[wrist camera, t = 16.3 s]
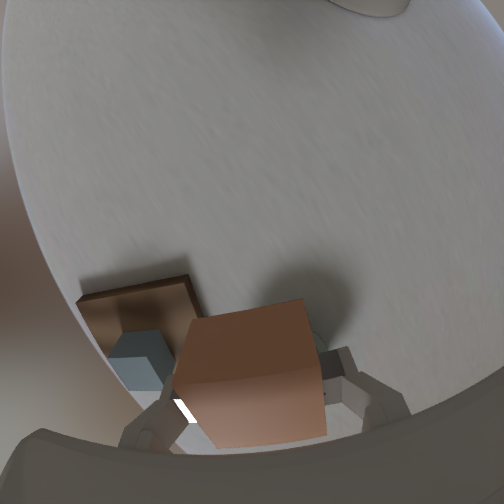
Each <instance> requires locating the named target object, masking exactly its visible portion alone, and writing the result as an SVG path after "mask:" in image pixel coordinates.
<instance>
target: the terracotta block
mask: <svg viewBox="0 0 504 504" xmlns="http://www.w3.org/2000/svg"><path fill="white" fill-rule="evenodd" d="M171 386H172V387H173V389H174V390H175V392H176V393H177V395H178V396H179V398H180V399H181V401H182V402H183V403H184V405H185V406H186V408H187V409H188V411H189V412H190V413H191V415H192V416H193V418H194V419H195V420H196V422H197V423H198V424H199V426H200V427H201V428H202V430H203V431H204V432H205V434H206V435H207V436H208V437H209V439H210V440H211V441H212V443H213V444H214V445H215V446H216V447H217V449H221V448H241V447H254V446H264V445H273V444H281V443H288V442H294V441H300V440H306V439H311V438H316V437H321V436H325V435H327V429H326V416H325V404H324V393H323V383H322V374H321V365H320V361H319V357H318V353H317V349H316V346H315V342H314V338H313V334H312V331H311V327H310V323H309V320H308V316H307V313H306V309H305V306H304V302H303V299H298V300H294V301H289V302H284V303H279V304H274V305H270V306H264V307H259V308H254V309H249V310H244V311H238V312H233V313H227V314H221V315H215V316H209V317H203V318H197V319H192V321H191V324H190V327H189V330H188V333H187V336H186V339H185V342H184V345H183V349H182V352H181V355H180V358H179V361H178V365H177V368H176V371H175V374H174V378H173V381H172V384H171Z"/></svg>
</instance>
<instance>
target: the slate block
mask: <svg viewBox="0 0 504 504" xmlns="http://www.w3.org/2000/svg"><path fill="white" fill-rule="evenodd" d="M107 359H108V361H109V362H110V364H111V365H112V367H113V369H114V370H115V372H116V373H117V375H118V376H119V377H120V379H121V380H122V382H123V383H124V385H125V386H126V388H127V389H128V390H129V391H162V389H163V386H164V383H165V380H166V377H167V376H168V375H169V374H172V373H173V370H174V367H175V364H176V362H175V360H174V358H173V356H172V354H171V352H170V350H169V348H168V346H167V344H166V342H165V340H164V338H163V336H162V334H161V332H160V330H159V329H155V330H146V331H137V332H127V333H122V334H121V336H120V338H119V339H118V341H117V342H116V344H115V346H114V347H113V349H112V351H111V352H110V354H109V356H108V357H107Z"/></svg>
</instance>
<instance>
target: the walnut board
mask: <svg viewBox="0 0 504 504" xmlns="http://www.w3.org/2000/svg"><path fill="white" fill-rule="evenodd" d="M76 305H77V307H78V309H79V311H80V313H81V315H82V317H83V319H84V320H85V322H86V324H87V326H88V328H89V330H90V331H91V333H92V335H93V337H94V338H95V340H96V342H97V343H98V345H99V347H100V348H101V350H102V352H103V353H104V355H105V356H106V358H107V357H108V356H109V354H110V352H111V351H112V349H113V347H114V346H115V344H116V342H117V341H118V339H119V338H120V336H121V334H122V333H127V332H137V331H146V330H155V329H159V330H160V332H161V334H162V336H163V338H164V340H165V342H166V344H167V346H168V348H169V350H170V352H171V354H172V356H173V358H174V360H175V362H176V364H175V367H174V370H173V373H172V374H175V371H176V368H177V365H178V361H179V358H180V355H181V352H182V349H183V345H184V342H185V339H186V336H187V333H188V330H189V327H190V324H191V321H192V319H197V318H203V317H204V316H203V314H202V311H201V309H200V306H199V303H198V301H197V298H196V295H195V292H194V290H193V287H192V284H191V281H190V278H189V276H188V275H183V276H178V277H173V278H168V279H163V280H158V281H153V282H148V283H143V284H138V285H133V286H128V287H123V288H118V289H113V290H108V291H103V292H98V293H93V294H88V295H83V296H82V297H81V298H80V299H79V300H78V301H77V302H76ZM107 360H108V359H107ZM109 363H110V362H109ZM111 366H112V365H111ZM119 378H120V377H119ZM121 381H122V380H121Z"/></svg>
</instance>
